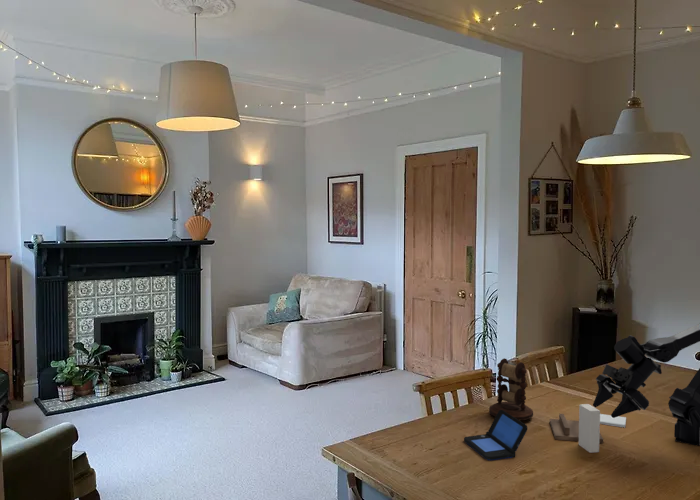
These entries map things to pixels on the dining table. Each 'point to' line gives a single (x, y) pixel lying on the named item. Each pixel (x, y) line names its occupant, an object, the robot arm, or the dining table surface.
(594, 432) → the cream rectangular block
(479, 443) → the handheld game console
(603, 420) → the external hard drive
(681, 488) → the dining table surface
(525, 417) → the wooden spool holder
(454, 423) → the dining table surface
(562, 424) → the rack
